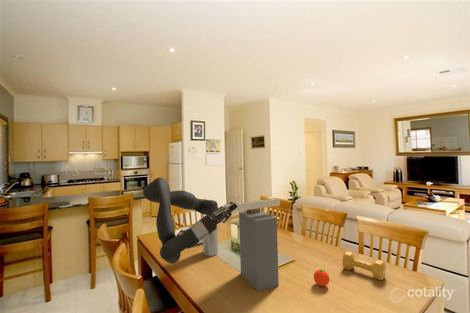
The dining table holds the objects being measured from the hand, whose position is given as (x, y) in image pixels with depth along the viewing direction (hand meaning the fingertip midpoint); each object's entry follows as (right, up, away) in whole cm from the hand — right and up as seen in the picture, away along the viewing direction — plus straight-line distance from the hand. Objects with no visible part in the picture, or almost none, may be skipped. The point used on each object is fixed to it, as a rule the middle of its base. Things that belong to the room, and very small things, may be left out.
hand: (234, 204), depth 110 cm
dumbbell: (+65, -37, +11) cm, 75 cm away
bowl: (-30, -39, +67) cm, 83 cm away
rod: (+9, -3, +4) cm, 10 cm away
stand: (+12, -38, +8) cm, 41 cm away
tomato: (+41, -38, +2) cm, 56 cm away
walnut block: (+10, -6, +12) cm, 17 cm away
